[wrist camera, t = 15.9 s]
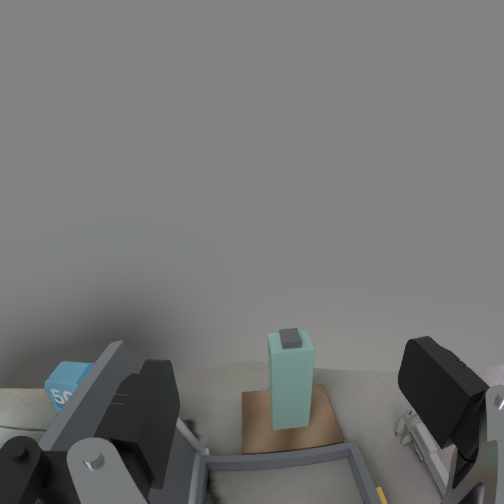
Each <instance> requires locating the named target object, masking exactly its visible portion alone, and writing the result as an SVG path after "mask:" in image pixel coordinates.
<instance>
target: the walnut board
mask: <svg viewBox="0 0 504 504" xmlns="http://www.w3.org/2000/svg"><path fill="white" fill-rule="evenodd" d="M242 421H243V455H254V454H269V453H281V452H290V451H298V450H306V449H313V448H319V447H325V446H331V445H336V444H341V443H344V439H343V436H342V433H341V431H340V428H339V425H338V423H337V420H336V418H335V415H334V412H333V410H332V407H331V405H330V402H329V400H328V397H327V394H326V392H325V389H324V387H323V385H317V386H312V395H311V406H310V417H309V426H306V427H298V428H289V429H279V430H273V427H272V420H271V412H270V391H255V392H242Z"/></svg>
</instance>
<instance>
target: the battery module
mask: <svg viewBox="0 0 504 504" xmlns="http://www.w3.org/2000/svg"><path fill="white" fill-rule="evenodd" d="M314 353H315V349H314V347H313V345H312V343H311V340H310V338H309V336H308V333H307V331H306V330H304V331H298V330H297V328H295V329H282V330H279V333H270V334H268V354H269V391H270V412H271V420H272V427H273V430H279V429H289V428H298V427H306V426H309V417H310V406H311V395H312V383H313V369H314Z"/></svg>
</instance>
